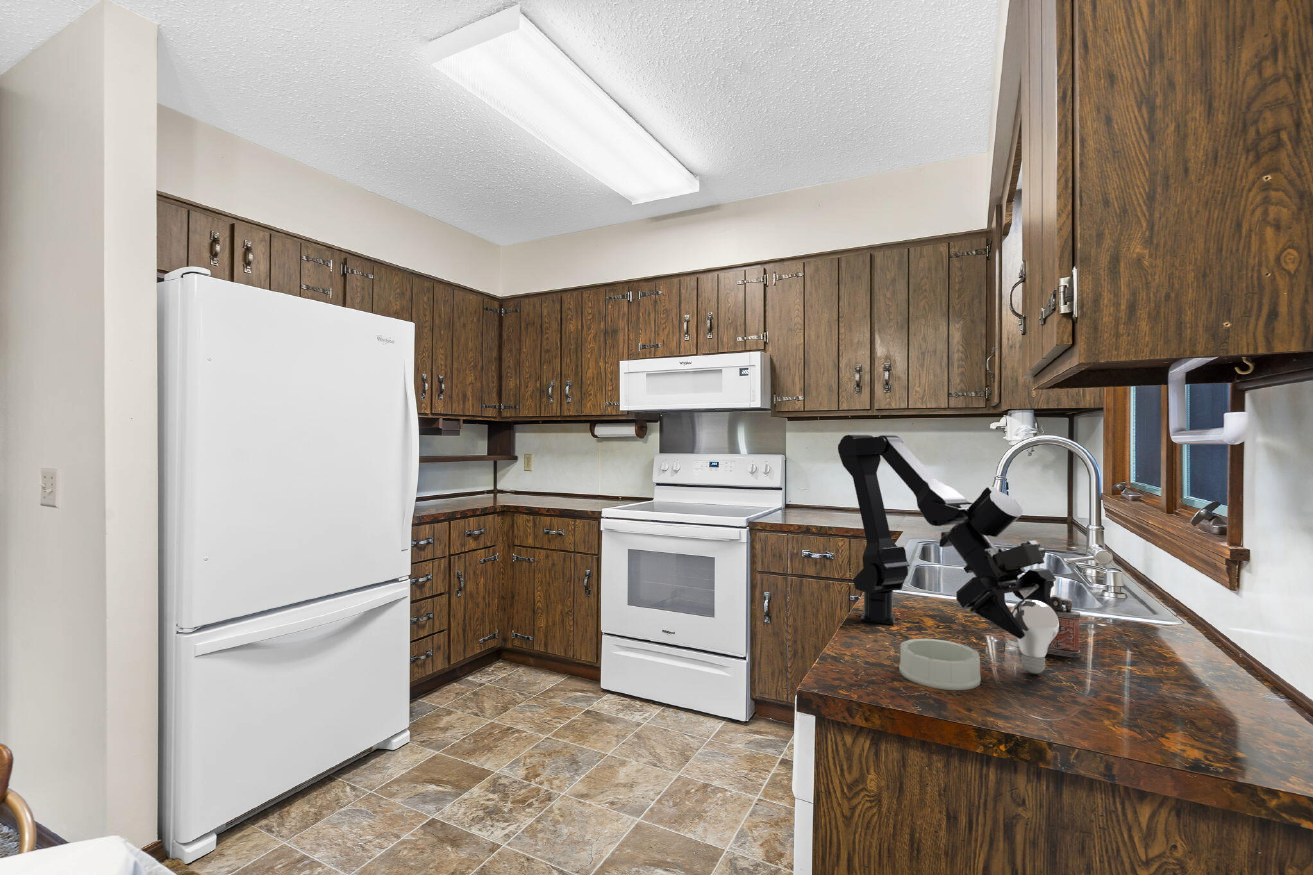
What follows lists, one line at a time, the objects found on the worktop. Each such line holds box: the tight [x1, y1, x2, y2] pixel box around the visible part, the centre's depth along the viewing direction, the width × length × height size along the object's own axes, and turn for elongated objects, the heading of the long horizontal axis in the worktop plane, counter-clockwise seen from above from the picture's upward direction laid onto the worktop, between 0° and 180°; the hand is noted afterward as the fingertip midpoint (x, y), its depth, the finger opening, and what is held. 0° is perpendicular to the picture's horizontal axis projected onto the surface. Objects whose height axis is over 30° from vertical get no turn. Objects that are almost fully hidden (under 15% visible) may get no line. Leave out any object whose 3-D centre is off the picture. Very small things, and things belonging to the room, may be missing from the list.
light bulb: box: [1010, 599, 1059, 676], centre depth 101 cm, size 7×7×12 cm
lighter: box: [1047, 594, 1081, 658], centre depth 112 cm, size 8×3×10 cm, turn 56°
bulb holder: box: [898, 638, 982, 691], centre depth 100 cm, size 12×12×4 cm
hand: (1041, 633), depth 100 cm, fingers open, 9 cm apart
